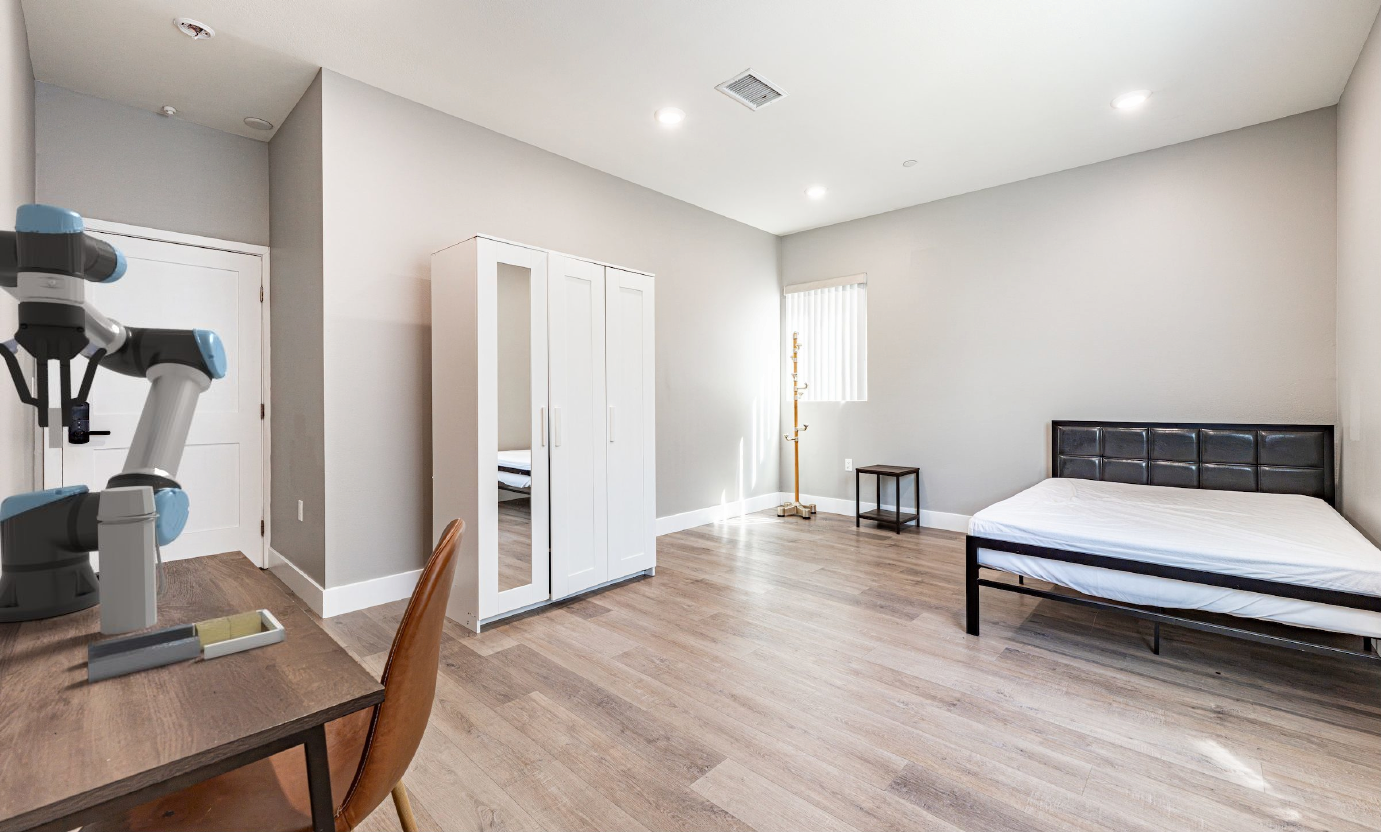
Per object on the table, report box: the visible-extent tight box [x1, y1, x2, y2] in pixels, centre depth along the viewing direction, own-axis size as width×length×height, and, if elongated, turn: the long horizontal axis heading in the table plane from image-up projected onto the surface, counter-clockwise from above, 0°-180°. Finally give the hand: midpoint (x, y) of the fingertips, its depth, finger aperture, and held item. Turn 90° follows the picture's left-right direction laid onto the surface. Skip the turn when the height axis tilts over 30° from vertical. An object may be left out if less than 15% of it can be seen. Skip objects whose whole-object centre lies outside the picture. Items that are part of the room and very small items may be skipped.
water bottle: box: [97, 486, 165, 636], centre depth 104 cm, size 9×8×25 cm
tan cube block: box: [194, 616, 230, 651], centre depth 96 cm, size 4×4×4 cm
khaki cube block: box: [225, 610, 262, 640], centre depth 99 cm, size 4×4×4 cm
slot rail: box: [86, 622, 201, 683], centre depth 91 cm, size 10×12×4 cm
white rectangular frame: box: [192, 608, 286, 660], centre depth 99 cm, size 14×10×3 cm
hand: (55, 447), depth 99 cm, fingers closed
